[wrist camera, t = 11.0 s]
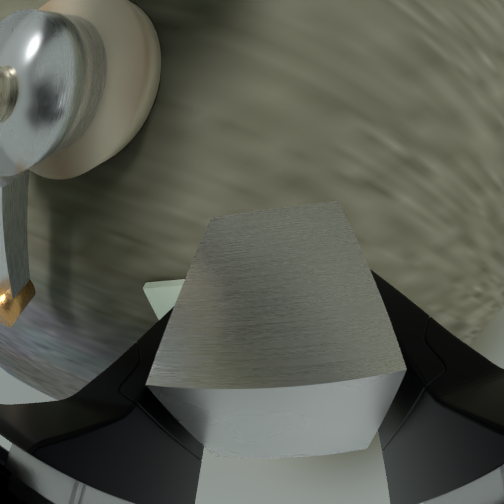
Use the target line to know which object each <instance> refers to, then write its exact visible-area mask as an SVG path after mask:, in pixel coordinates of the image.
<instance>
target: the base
mask: <svg viewBox="0 0 504 504" xmlns="http://www.w3.org/2000/svg"><path fill="white" fill-rule="evenodd" d="M39 10H43V11H51V12H58V13H65V14H71V15H76V16H80V17H82V18H85V19H86V20H88V21H89V22H91V23H92V24H93V25H94V27H95V28H96V29H97V31H98V32H99V34H100V36H101V38H102V41H103V43H104V47H105V52H106V60H107V72H106V82H105V87H104V92H103V96H102V100H101V103H100V105H99V108H98V111H97V113H96V115H95V117H94V119H93V121H92V123H91V124H90V126H89V127H88V129H87V130H86V132H85V133H84V134H83V135H82V137H81V138H80V139H79V140H78V141H77V142H76V143H74V144H73V145H72V146H70V147H69V148H67V149H65V150H64V151H61V152H59V153H57V154H55V155H53V156H51V157H49V158H47V159H45V160H43V161H41V162H39V163H37V164H35V165H34V166H32V167H30V168H28V169H29V170H30V171H32V172H34V173H35V174H37V175H40V176H42V177H45V178H49V179H58V180H61V179H70V178H73V177H76V176H79V175H81V174H83V173H85V172H88V171H89V170H91V169H92V168H94V167H96V166H98V165H99V164H101V163H103V162H105V161H106V160H108V159H110V158H111V157H113V156H114V155H116V154H117V153H119V152H120V151H121V150H122V149H123V148H125V147H126V146H127V145H128V143H129V142H130V141H131V140H132V139H133V138H134V137H135V135H136V134H137V133H138V131H139V130H140V129H141V127H142V125H143V124H144V122H145V120H146V119H147V117H148V115H149V112H150V110H151V108H152V106H153V103H154V100H155V97H156V94H157V90H158V86H159V82H160V74H161V50H160V43H159V39H158V36H157V32H156V30H155V28H154V26H153V24H152V22H151V20H150V19H149V17H148V16H147V14H146V13H145V12H144V11H143V10H142V9H141V8H140V7H138V6H137V5H135V4H134V3H132V2H131V1H129V0H50V1H49V2H48V3H46V4H45V5H43V6H42V7H41V8H40V9H39Z"/></svg>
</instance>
